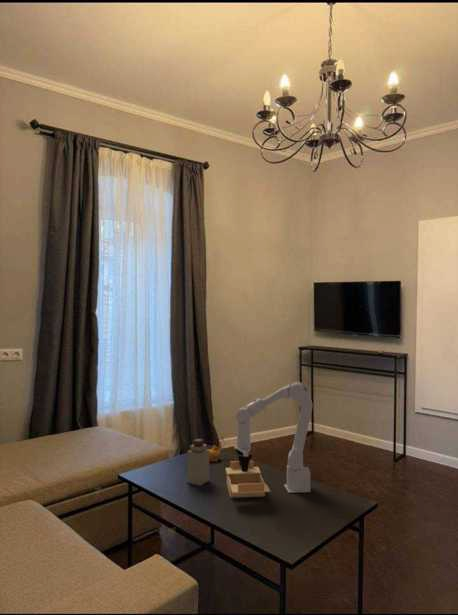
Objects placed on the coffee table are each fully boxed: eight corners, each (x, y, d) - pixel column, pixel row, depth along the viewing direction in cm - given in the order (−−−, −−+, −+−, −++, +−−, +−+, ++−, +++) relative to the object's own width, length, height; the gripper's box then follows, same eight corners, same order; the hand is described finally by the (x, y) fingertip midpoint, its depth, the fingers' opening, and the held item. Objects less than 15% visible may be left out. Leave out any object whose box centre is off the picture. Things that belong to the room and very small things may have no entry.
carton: (258, 483, 189) (259, 471, 189) (265, 496, 175) (265, 483, 175) (226, 484, 187) (226, 472, 187) (230, 497, 173) (230, 485, 174)
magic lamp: (191, 461, 216) (191, 439, 217) (221, 455, 227) (221, 433, 227) (198, 465, 211) (198, 442, 211) (228, 458, 221) (229, 436, 221)
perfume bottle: (209, 480, 191) (209, 439, 191) (199, 485, 185) (200, 443, 186) (196, 477, 195) (196, 437, 195) (187, 482, 189) (187, 440, 189)
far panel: (258, 467, 193) (258, 460, 193) (260, 473, 186) (260, 465, 186) (225, 468, 191) (225, 461, 191) (227, 474, 184) (227, 466, 184)
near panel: (266, 484, 173) (266, 476, 173) (270, 491, 166) (270, 483, 166) (230, 486, 172) (230, 477, 172) (232, 493, 165) (232, 484, 165)
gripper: (232, 431, 194) (232, 462, 193) (236, 441, 179) (236, 474, 179) (248, 431, 194) (247, 462, 194) (253, 440, 180) (253, 474, 180)
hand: (243, 468), depth 187 cm, fingers open, 7 cm apart
